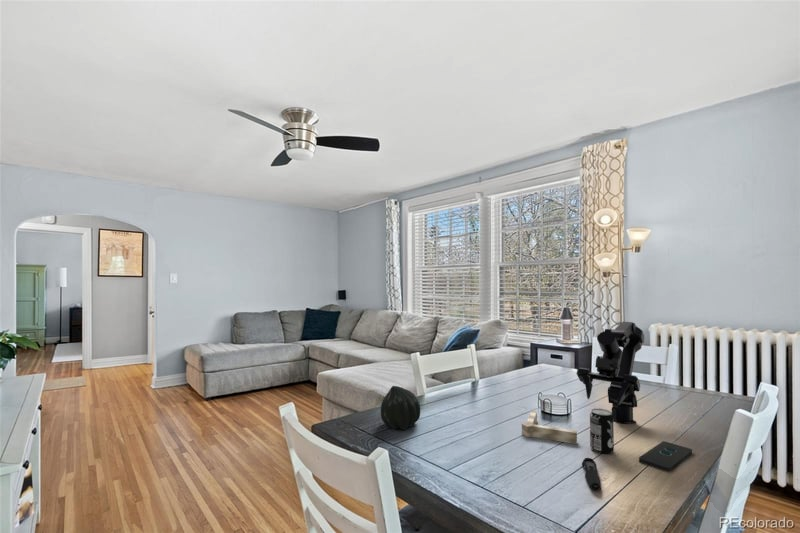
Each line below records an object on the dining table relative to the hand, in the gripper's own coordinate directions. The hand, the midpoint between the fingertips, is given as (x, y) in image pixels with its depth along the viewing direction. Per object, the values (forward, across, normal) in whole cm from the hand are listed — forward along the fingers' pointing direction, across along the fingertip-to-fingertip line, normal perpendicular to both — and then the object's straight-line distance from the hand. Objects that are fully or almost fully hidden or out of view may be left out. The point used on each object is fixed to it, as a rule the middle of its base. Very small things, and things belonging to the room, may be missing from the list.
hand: (602, 401), depth 131 cm
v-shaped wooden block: (+15, -18, +3) cm, 24 cm away
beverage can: (+15, +2, +3) cm, 15 cm away
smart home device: (+10, +18, +9) cm, 22 cm away
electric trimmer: (+29, +5, -12) cm, 32 cm away
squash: (+34, -58, -18) cm, 70 cm away
